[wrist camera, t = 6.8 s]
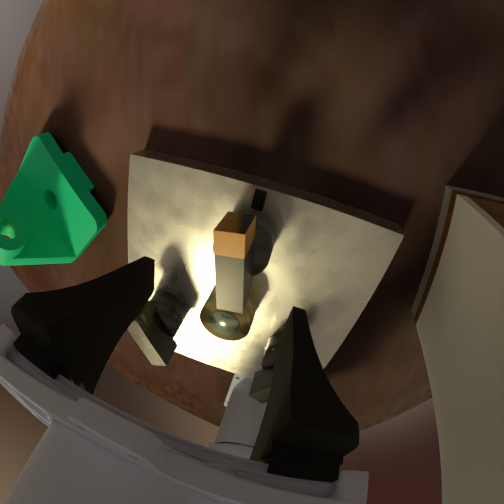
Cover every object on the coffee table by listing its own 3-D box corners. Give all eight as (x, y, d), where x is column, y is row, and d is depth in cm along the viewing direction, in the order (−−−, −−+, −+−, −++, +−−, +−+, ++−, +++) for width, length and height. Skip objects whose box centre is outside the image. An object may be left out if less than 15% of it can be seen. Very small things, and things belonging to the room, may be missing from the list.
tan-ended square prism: (273, 270, 21) (259, 316, 16) (225, 262, 21) (201, 305, 17) (279, 202, 18) (265, 237, 14) (224, 195, 19) (195, 227, 14)
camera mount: (117, 215, 24) (40, 275, 16) (85, 250, 28) (24, 306, 19) (54, 125, 21) (-29, 156, 12) (31, 172, 24) (-36, 208, 16)
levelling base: (307, 378, 29) (299, 432, 23) (142, 322, 31) (112, 365, 25) (397, 223, 19) (425, 277, 13) (144, 148, 20) (84, 173, 14)
